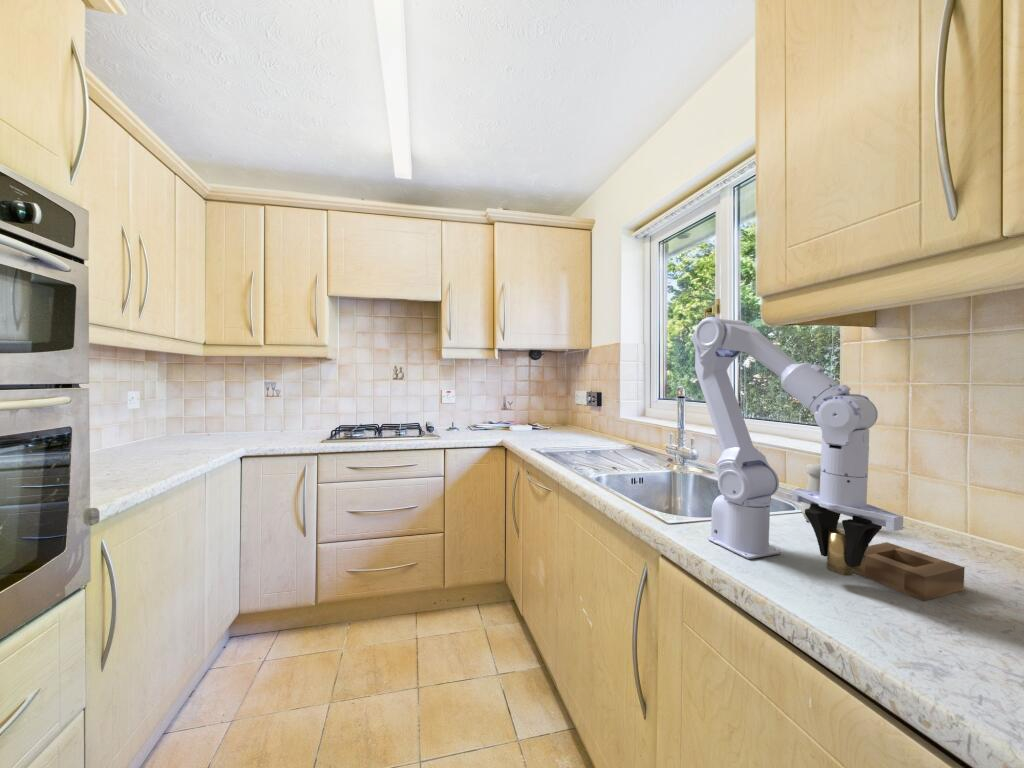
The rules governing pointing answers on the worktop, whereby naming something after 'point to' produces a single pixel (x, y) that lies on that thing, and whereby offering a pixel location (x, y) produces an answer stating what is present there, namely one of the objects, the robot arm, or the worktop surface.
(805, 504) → the salt shaker
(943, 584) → the hole block
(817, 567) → the worktop surface
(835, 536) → the bronze pin
